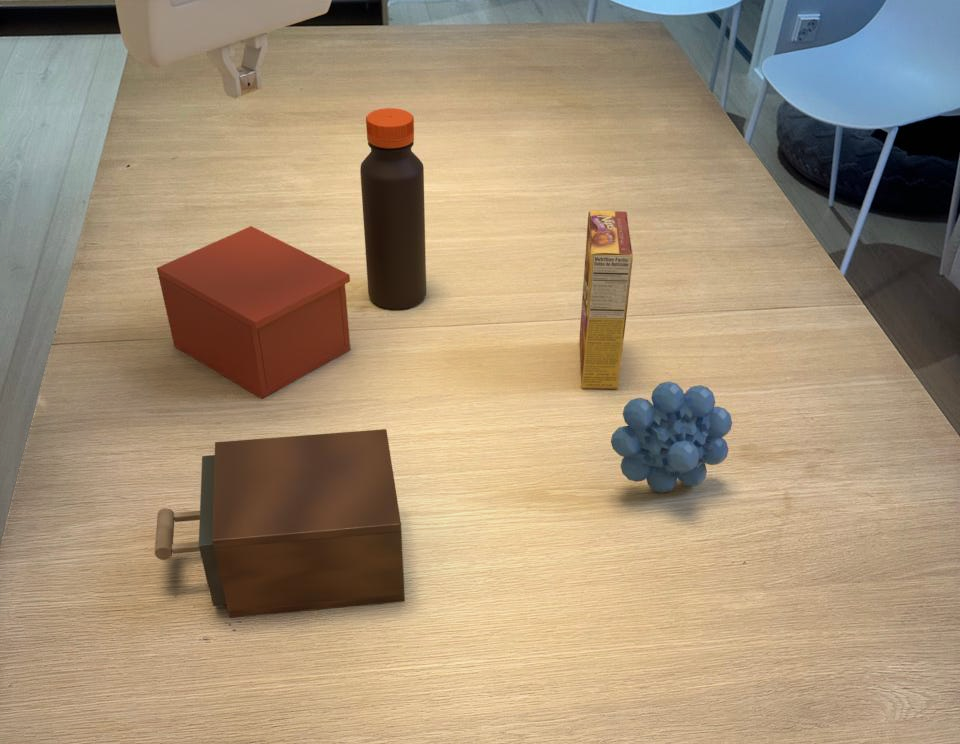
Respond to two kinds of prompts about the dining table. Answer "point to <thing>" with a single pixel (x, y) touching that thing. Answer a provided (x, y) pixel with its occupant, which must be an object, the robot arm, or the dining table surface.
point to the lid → (253, 276)
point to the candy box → (604, 298)
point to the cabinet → (307, 523)
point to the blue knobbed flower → (672, 436)
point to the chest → (259, 338)
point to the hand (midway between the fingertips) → (243, 92)
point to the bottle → (393, 211)
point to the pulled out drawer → (205, 543)
